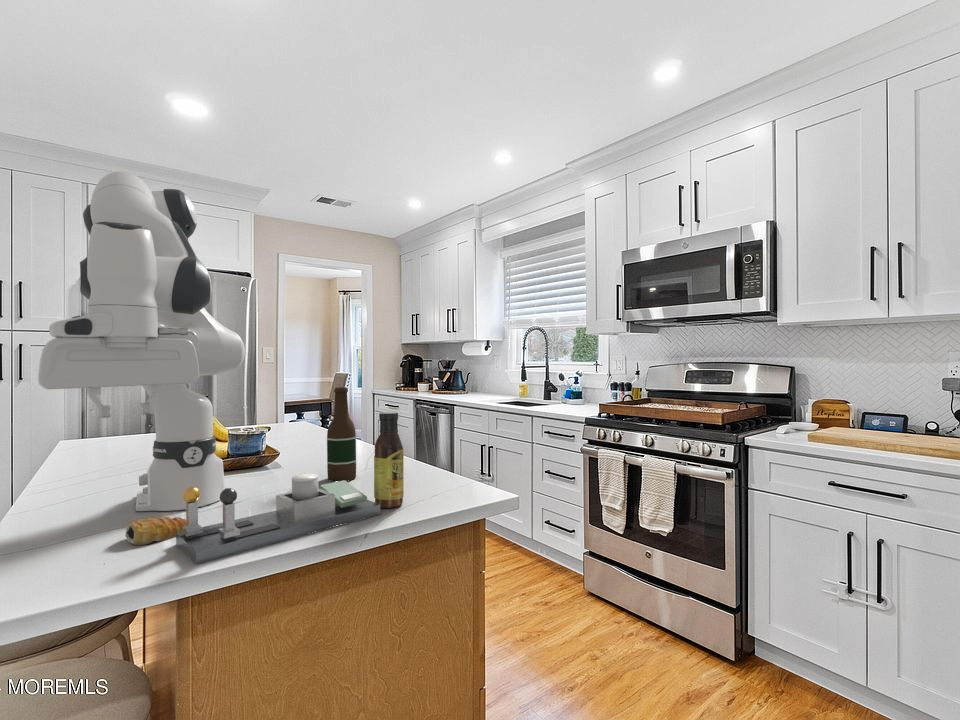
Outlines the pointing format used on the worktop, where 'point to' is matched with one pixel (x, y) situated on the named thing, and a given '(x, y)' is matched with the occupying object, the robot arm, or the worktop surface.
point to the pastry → (153, 529)
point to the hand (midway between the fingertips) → (125, 415)
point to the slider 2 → (228, 513)
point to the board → (274, 526)
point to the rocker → (344, 493)
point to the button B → (305, 486)
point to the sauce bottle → (388, 463)
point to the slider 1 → (192, 512)
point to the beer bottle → (341, 441)
